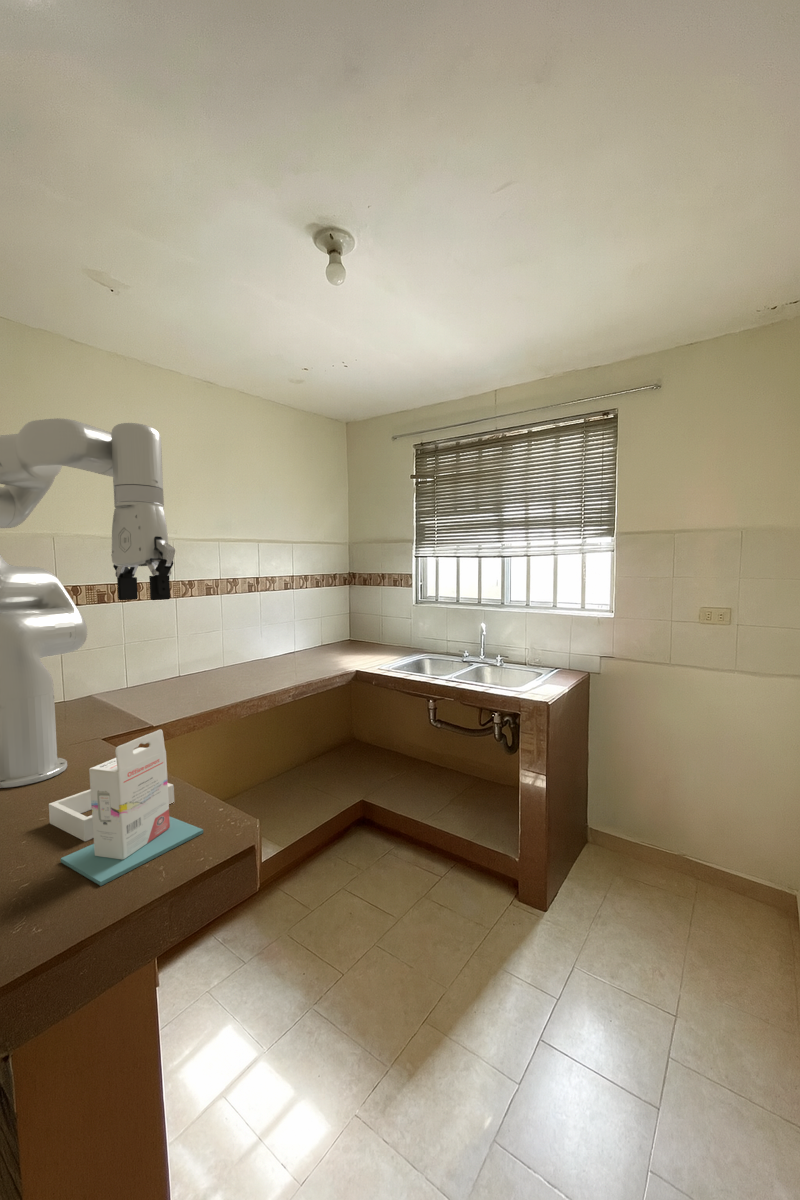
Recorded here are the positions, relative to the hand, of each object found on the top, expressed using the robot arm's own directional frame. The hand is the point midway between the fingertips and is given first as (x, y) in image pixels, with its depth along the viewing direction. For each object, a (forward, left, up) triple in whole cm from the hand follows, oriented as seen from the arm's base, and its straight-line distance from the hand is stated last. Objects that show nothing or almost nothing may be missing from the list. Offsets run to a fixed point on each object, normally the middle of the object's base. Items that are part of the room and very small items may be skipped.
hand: (143, 599), depth 84 cm
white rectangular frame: (+3, -8, -33) cm, 34 cm away
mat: (+16, -12, -33) cm, 39 cm away
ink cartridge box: (+15, -12, -33) cm, 38 cm away
